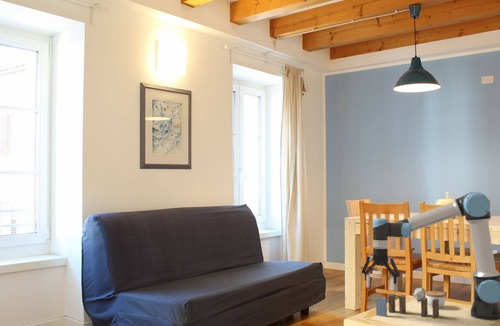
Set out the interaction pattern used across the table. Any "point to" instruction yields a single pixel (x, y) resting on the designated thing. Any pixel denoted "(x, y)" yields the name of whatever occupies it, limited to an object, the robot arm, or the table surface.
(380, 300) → the domino
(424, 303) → the domino
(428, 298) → the lidded jar
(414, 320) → the table surface
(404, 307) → the domino
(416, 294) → the game die
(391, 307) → the domino
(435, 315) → the domino
